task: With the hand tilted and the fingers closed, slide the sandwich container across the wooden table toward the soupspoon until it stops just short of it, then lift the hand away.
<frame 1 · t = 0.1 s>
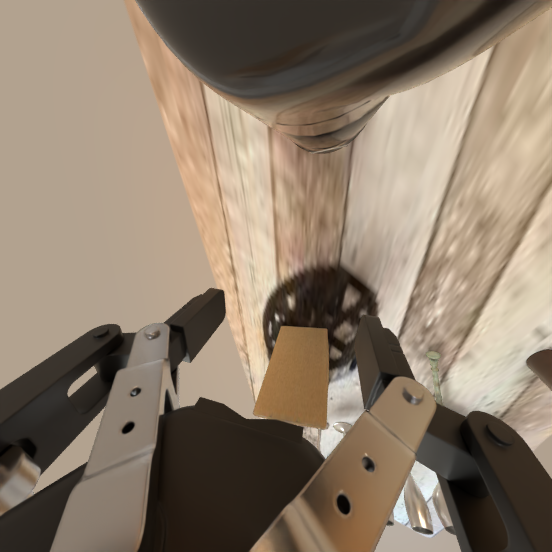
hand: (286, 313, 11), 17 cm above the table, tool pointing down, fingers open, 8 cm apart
sandwich container: (306, 356, 38), on the table
pepper mill: (548, 360, 27), on the table
goblet set: (371, 431, 45), on the table
soupspoon: (435, 392, 35), on the table
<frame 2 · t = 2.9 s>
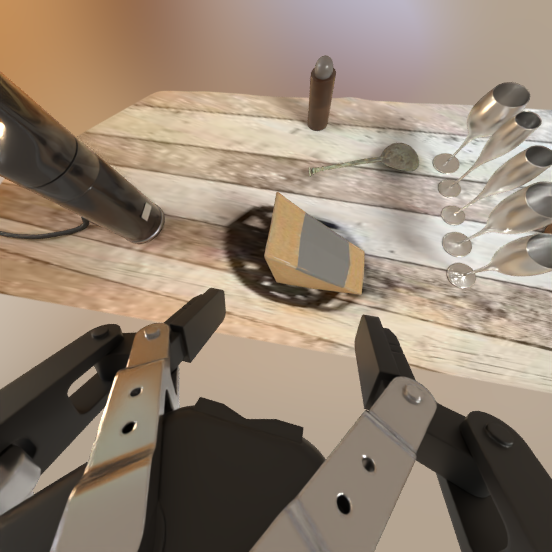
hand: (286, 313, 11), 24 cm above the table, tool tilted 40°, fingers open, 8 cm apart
sandwich container: (320, 267, 36), on the table
pepper mill: (317, 123, 44), on the table
goblet set: (451, 214, 36), on the table
soupspoon: (361, 167, 40), on the table
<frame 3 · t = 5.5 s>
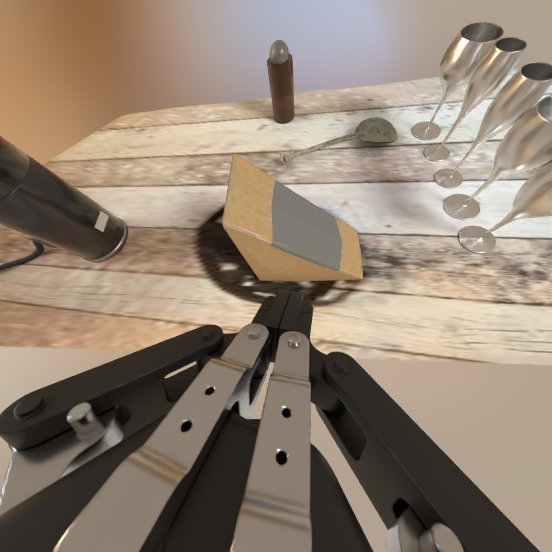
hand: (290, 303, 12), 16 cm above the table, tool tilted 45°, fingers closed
sandwich container: (309, 256, 31), on the table
pepper mill: (284, 116, 42), on the table
goblet set: (446, 178, 32), on the table
soupspoon: (337, 149, 37), on the table
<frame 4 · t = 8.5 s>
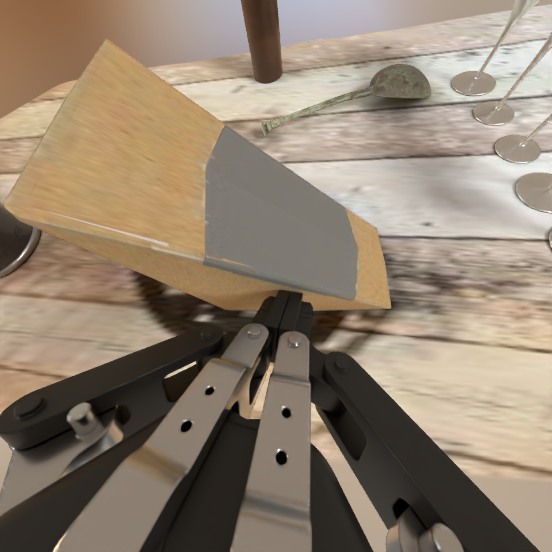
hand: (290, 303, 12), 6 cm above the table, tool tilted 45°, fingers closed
sandwich container: (302, 269, 19), on the table, touching gripper
pepper mill: (268, 74, 31), on the table
goblet set: (513, 149, 21), on the table
soupspoon: (342, 113, 26), on the table
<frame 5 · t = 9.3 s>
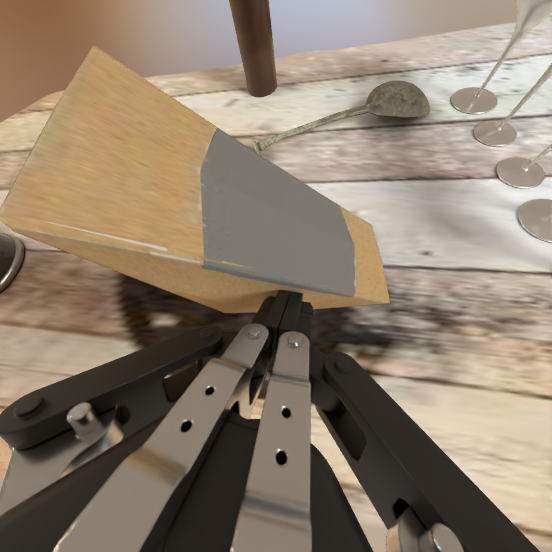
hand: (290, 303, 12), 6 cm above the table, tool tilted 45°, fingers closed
sandwich container: (299, 268, 19), on the table, touching gripper
pepper mill: (262, 87, 30), on the table
goblet set: (515, 172, 20), on the table
soupspoon: (338, 130, 25), on the table
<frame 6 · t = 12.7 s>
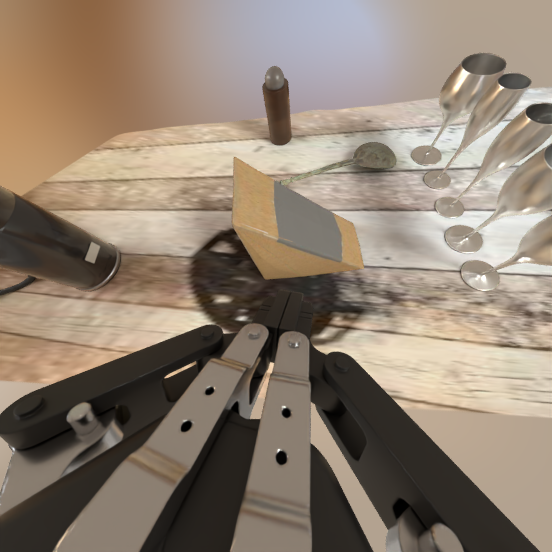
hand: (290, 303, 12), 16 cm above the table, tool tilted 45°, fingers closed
sandwich container: (309, 251, 32), on the table
pepper mill: (281, 138, 41), on the table
goblet set: (447, 207, 31), on the table
soupspoon: (334, 173, 36), on the table
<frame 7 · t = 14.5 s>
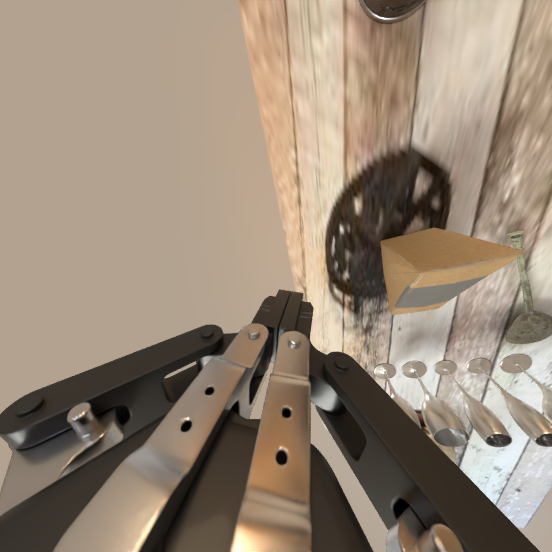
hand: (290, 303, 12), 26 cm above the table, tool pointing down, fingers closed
sandwich container: (410, 275, 35), on the table
skull: (418, 427, 48), on the table
goblet set: (445, 366, 41), on the table
soupspoon: (517, 290, 33), on the table
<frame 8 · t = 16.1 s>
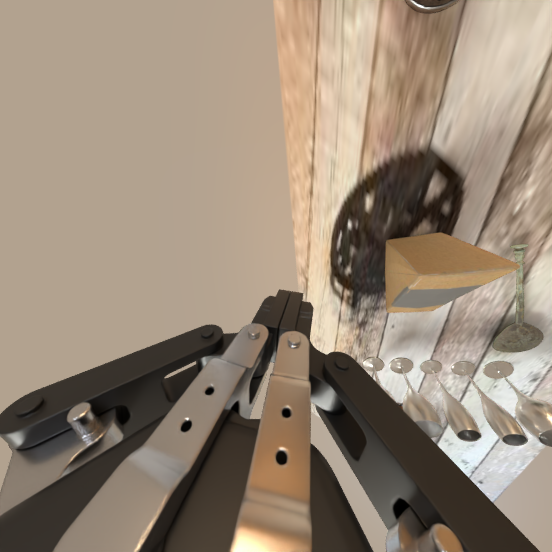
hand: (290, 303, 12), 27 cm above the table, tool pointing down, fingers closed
sandwich container: (410, 276, 36), on the table
goblet set: (431, 366, 43), on the table
soupspoon: (511, 302, 34), on the table
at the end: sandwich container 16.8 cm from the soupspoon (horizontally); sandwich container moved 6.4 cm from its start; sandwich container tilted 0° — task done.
